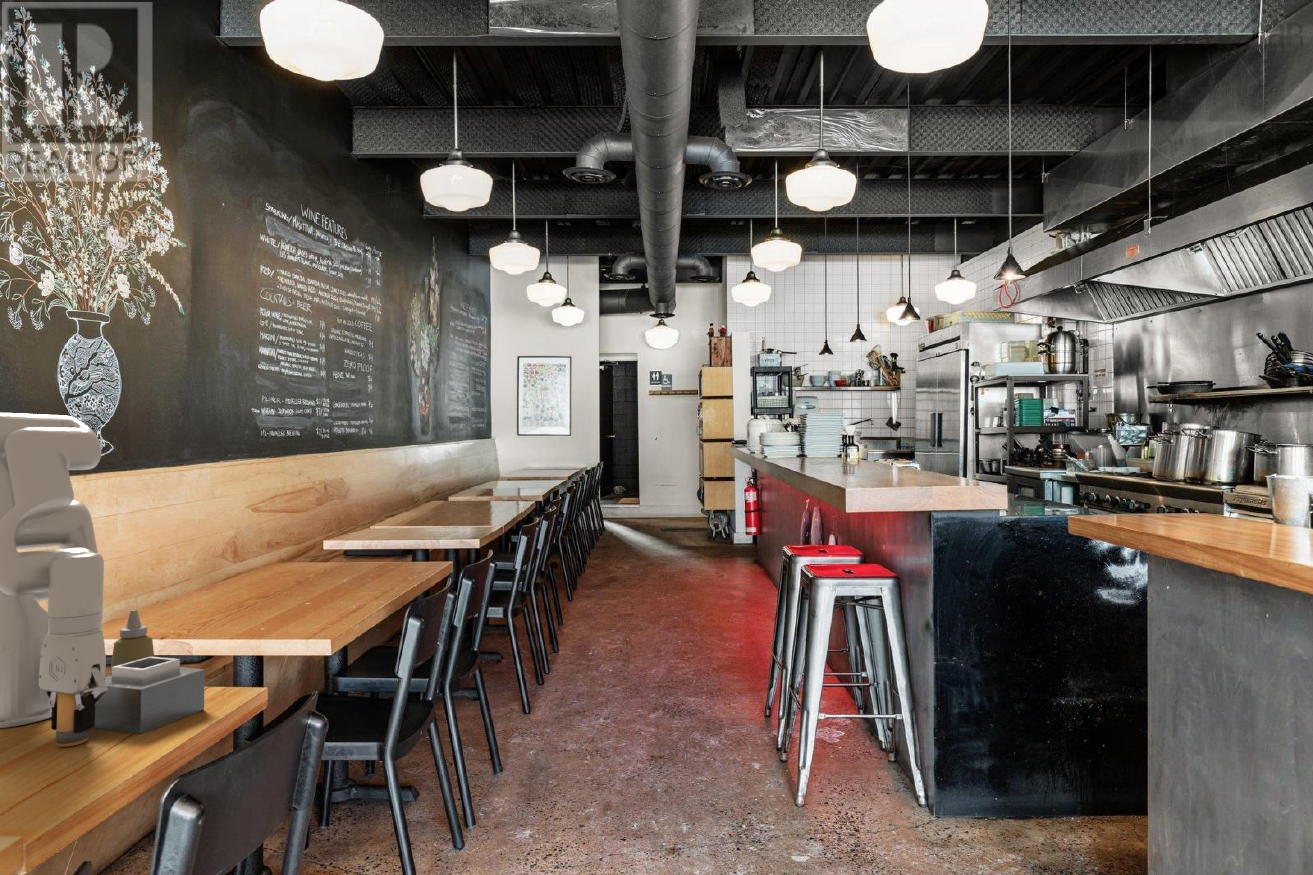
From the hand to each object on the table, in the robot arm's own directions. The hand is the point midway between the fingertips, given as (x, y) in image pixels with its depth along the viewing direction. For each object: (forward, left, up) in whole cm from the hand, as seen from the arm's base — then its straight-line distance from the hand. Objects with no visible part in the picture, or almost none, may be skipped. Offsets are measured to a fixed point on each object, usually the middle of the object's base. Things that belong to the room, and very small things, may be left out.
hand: (73, 727), depth 125 cm
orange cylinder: (0, 0, -2) cm, 2 cm away
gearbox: (0, +13, -3) cm, 13 cm away
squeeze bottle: (-15, +22, -3) cm, 26 cm away
